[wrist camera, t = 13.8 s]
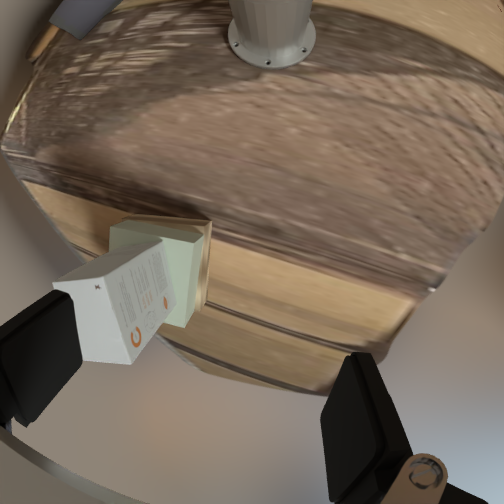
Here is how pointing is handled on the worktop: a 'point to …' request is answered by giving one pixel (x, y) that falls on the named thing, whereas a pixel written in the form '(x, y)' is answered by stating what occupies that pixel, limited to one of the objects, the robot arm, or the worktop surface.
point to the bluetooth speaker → (81, 15)
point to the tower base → (190, 226)
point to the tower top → (168, 260)
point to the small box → (120, 301)
